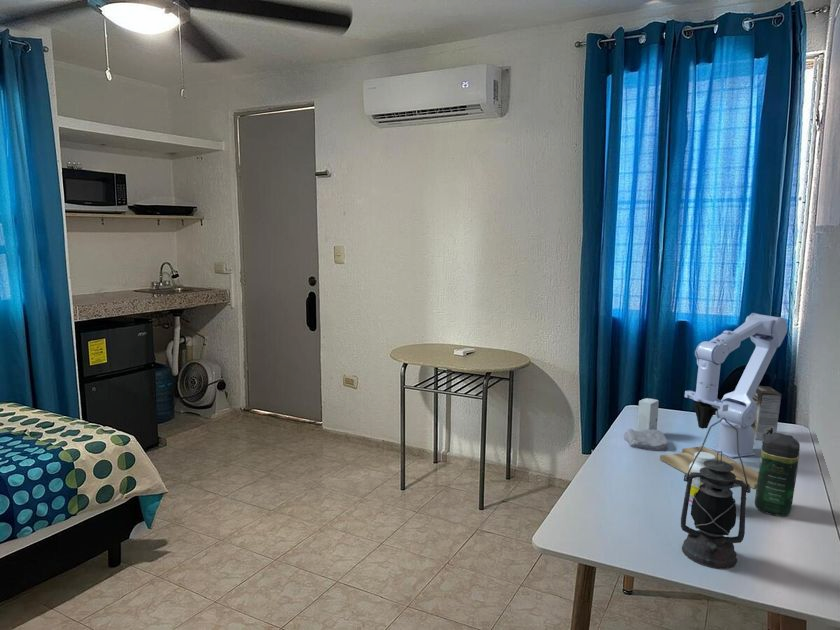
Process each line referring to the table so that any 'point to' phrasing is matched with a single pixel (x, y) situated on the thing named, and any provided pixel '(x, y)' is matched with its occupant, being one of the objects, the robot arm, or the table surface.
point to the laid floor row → (738, 470)
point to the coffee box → (766, 411)
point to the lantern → (714, 513)
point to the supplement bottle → (696, 468)
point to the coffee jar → (777, 474)
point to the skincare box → (647, 414)
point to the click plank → (680, 461)
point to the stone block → (646, 439)
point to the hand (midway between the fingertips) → (702, 427)
